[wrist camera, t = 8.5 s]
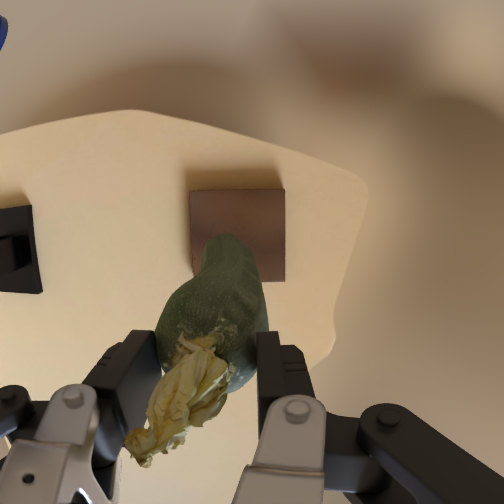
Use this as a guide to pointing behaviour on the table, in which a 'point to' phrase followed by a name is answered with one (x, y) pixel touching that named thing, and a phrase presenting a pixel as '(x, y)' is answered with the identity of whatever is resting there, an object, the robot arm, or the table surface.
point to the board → (242, 225)
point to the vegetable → (203, 346)
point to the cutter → (18, 252)
